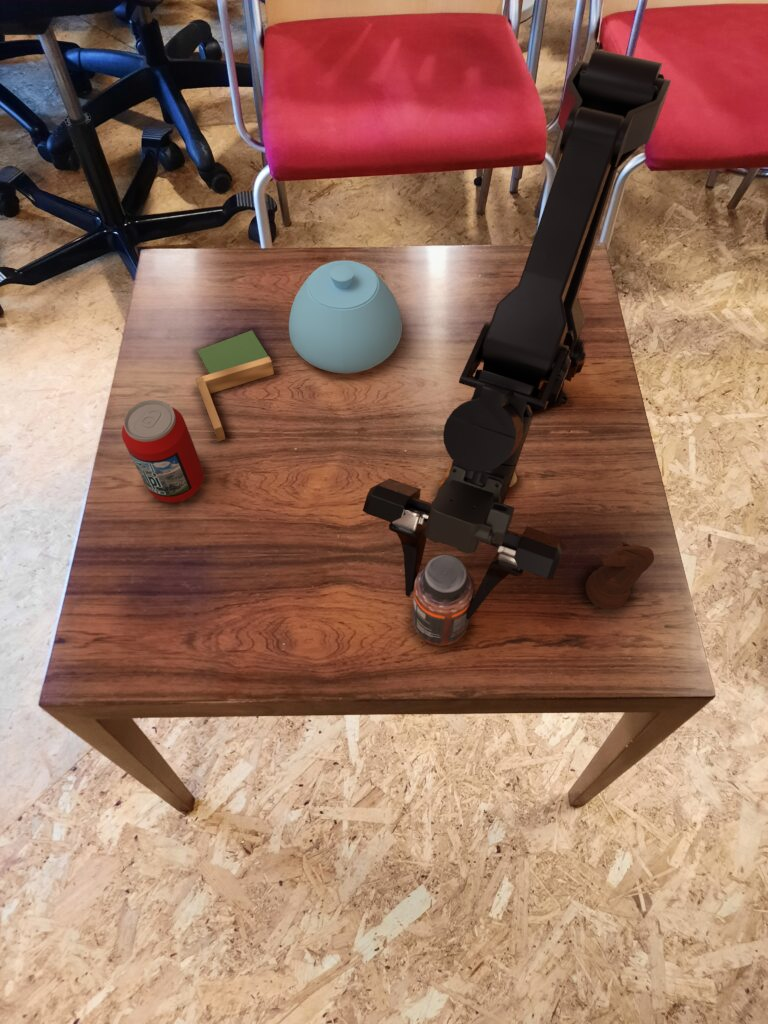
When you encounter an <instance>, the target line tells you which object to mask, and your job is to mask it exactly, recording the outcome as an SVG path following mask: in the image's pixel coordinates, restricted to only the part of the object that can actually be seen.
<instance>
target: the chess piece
mask: <svg viewBox="0 0 768 1024" xmlns="http://www.w3.org/2000/svg"><path fill="white" fill-rule="evenodd" d="M621 544H622V546H617V547H615V551H614V552H613V553H611V554H609V555H607V556H603V557H602V558H601V562H602V565H601V566H599V567H598V568H597V569H596V570H594V571H593V572H591V574H590V575H589V576H588V578H587V579H586V582H585V594H586V596H587V598H588V600H589V601H590V602H591V603H592V604H593V605H594V606H596V607H597V608H600V609H602V610H608V611H609V610H610V611H612V610H616V609H617V610H618V609H619V608H621V607H622V606H623V605H625V604H626V602H627V600H628V599H629V596H630V594H631V587H633V585H635V583H636V582H637V581H638V580H639V579H640V577H641V576H642V574H643V573H645V571H647V569H648V568H650V567H651V566H652V564H653V563H654V561H655V554H654V551H653V550H652V549H651V548H650V547H647V546H643V545H637V544H635V545H634V544H633V545H632V544H629V543H626V542H624V541H622V542H621Z"/></svg>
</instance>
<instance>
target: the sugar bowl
mask: <svg viewBox="0 0 768 1024" xmlns="http://www.w3.org/2000/svg"><path fill="white" fill-rule="evenodd" d="M288 319H289V320H288V334H289V335H288V336H289V339H290V343H291V345H292V347H293V349H294V350H295V351H296V353H297V354H298V356H299V357H301V358H302V359H303V360H304V361H306V363H308V364H309V365H312V366H314V367H316V368H318V369H320V370H323V371H325V372H329V373H335V374H344V375H347V374H348V375H349V374H357V373H361V372H364V371H367V370H370V369H372V368H374V367H377V366H378V365H380V364H381V363H383V362H384V361H386V360H387V359H388V358H389V357H390V356H392V354H393V353H394V351H395V350H396V348H397V347H398V345H399V343H400V340H401V337H402V333H403V331H402V330H403V322H402V315H401V310H400V307H399V303H398V301H397V300H396V297H395V296H394V293H393V292H392V290H391V288H389V286H388V285H387V284H386V282H385V281H384V280H383V279H382V278H381V277H380V276H379V275H378V274H377V273H376V272H375V271H374V270H373V269H371V268H370V267H369V266H367V265H365V264H363V263H361V262H357V261H353V260H334V261H330V262H327V263H324V264H323V265H321V266H319V267H317V268H316V269H315V270H313V272H311V274H309V276H308V277H307V278H306V280H305V281H304V282H303V284H302V285H301V287H300V288H299V290H298V291H297V293H296V295H295V297H294V299H293V302H292V305H291V308H290V313H289V318H288Z"/></svg>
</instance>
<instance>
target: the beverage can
mask: <svg viewBox="0 0 768 1024" xmlns="http://www.w3.org/2000/svg"><path fill="white" fill-rule="evenodd" d="M121 438H122V441H123V443H124V445H125V447H126V449H127V451H128V453H129V455H130V457H131V460H132V461H133V463H134V465H135V467H136V469H137V471H138V473H139V475H140V477H141V479H142V480H143V483H144V485H145V487H146V488H147V490H148V492H149V494H150V495H151V496H152V497H154V499H157V500H158V501H160V502H165V503H179V502H182V501H184V500H187V499H190V498H191V497H192V496H193V495H195V494H196V493H197V492H198V491H199V490H200V488H201V486H202V484H203V482H204V470H203V467H202V464H201V461H200V458H199V455H198V451H197V450H196V447H195V443H194V442H193V439H192V436H191V433H190V430H189V428H188V426H187V423H186V421H185V419H184V417H183V414H182V413H181V412H180V411H179V410H177V409H176V408H175V407H172V406H171V405H170V404H169V403H167V402H166V401H164V400H161V399H146V400H143V401H140V402H138V403H136V404H135V405H133V406H131V408H129V409H128V411H127V413H125V416H124V418H123V425H122V429H121Z"/></svg>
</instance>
